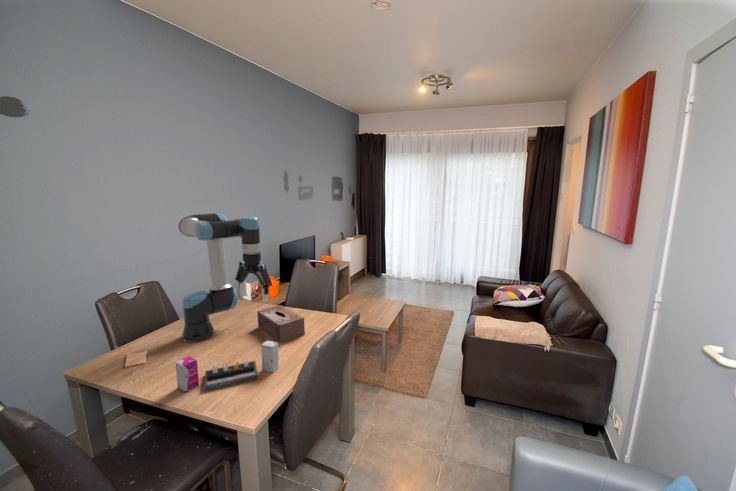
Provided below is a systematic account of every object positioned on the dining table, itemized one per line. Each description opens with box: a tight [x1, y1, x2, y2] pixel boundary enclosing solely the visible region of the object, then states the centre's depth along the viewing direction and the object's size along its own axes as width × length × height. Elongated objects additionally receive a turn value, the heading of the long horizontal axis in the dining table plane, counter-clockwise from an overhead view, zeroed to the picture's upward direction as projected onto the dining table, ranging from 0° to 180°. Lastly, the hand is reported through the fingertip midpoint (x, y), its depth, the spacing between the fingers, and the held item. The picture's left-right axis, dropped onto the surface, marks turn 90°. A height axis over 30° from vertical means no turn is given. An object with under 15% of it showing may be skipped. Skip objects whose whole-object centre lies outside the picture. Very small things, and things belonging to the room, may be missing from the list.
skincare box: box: [261, 340, 280, 373], centre depth 142 cm, size 6×4×12 cm
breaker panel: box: [203, 359, 259, 392], centre depth 136 cm, size 20×12×6 cm, turn 114°
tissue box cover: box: [256, 304, 306, 344], centre depth 180 cm, size 26×14×10 cm, turn 43°
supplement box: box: [175, 355, 200, 393], centre depth 129 cm, size 6×6×12 cm
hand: (254, 298), depth 146 cm, fingers open, 13 cm apart
